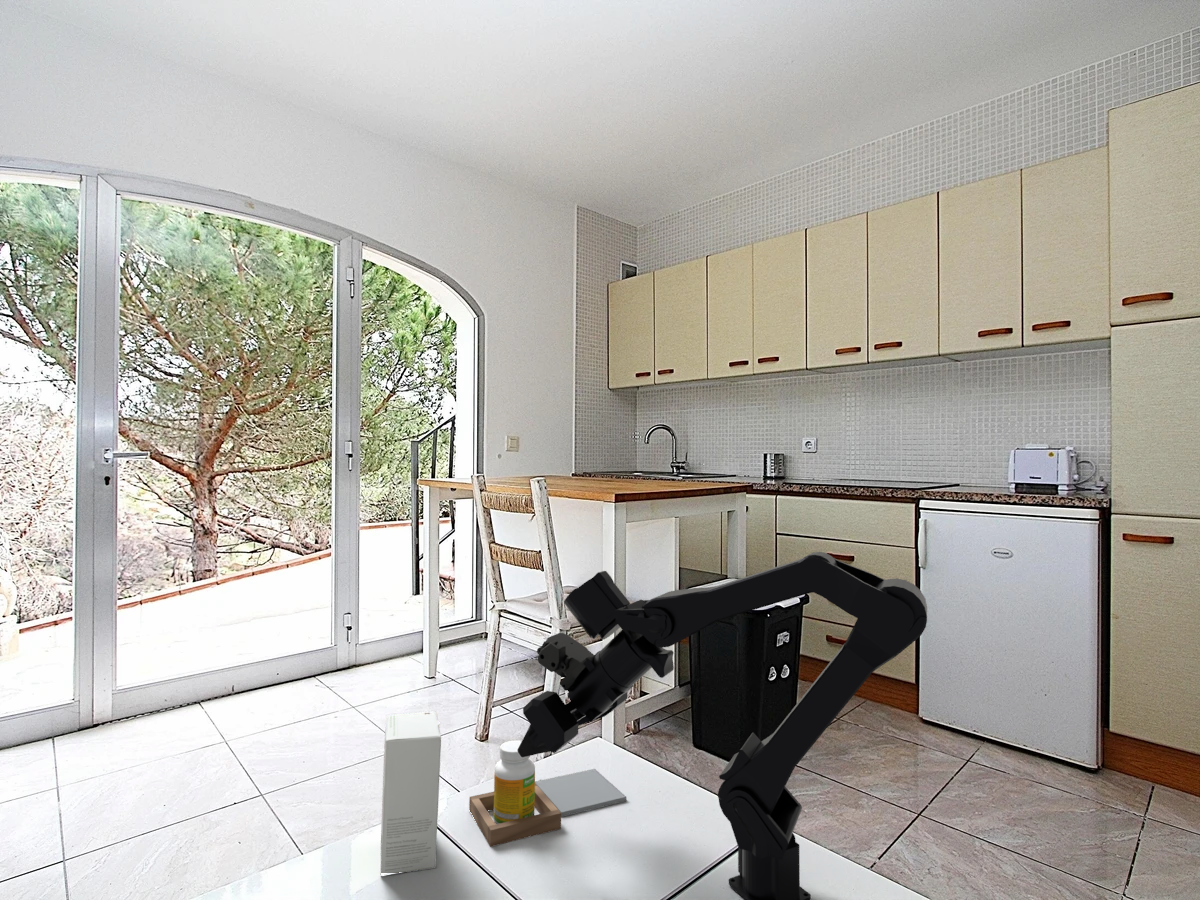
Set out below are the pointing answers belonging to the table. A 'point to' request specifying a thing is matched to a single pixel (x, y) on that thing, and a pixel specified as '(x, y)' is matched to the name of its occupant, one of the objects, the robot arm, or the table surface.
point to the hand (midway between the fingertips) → (539, 740)
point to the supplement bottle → (513, 785)
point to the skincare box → (410, 792)
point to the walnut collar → (516, 828)
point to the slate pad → (580, 792)
